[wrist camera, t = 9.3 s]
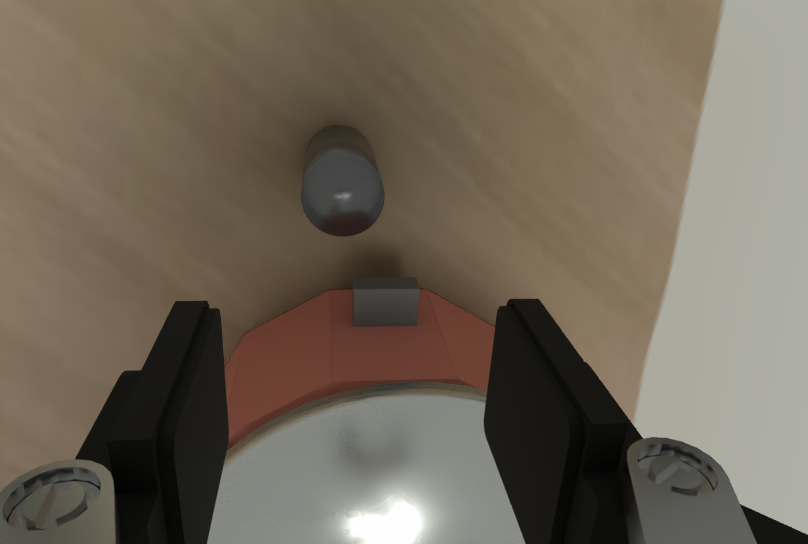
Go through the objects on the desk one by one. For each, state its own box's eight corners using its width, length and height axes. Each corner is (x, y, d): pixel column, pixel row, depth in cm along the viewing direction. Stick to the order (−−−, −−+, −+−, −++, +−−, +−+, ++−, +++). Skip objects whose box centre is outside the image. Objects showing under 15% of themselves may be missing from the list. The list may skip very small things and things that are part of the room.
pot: (218, 585, 37) (192, 728, 30) (186, 255, 28) (140, 342, 21) (523, 565, 40) (568, 692, 32) (578, 256, 31) (656, 334, 24)
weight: (305, 190, 28) (301, 236, 23) (304, 124, 27) (300, 155, 21) (371, 191, 28) (382, 236, 23) (373, 126, 27) (386, 157, 22)
